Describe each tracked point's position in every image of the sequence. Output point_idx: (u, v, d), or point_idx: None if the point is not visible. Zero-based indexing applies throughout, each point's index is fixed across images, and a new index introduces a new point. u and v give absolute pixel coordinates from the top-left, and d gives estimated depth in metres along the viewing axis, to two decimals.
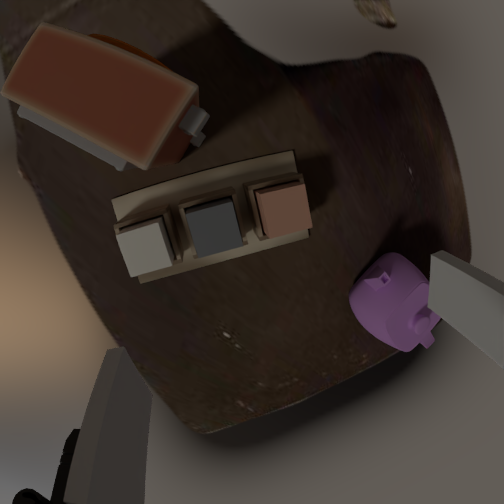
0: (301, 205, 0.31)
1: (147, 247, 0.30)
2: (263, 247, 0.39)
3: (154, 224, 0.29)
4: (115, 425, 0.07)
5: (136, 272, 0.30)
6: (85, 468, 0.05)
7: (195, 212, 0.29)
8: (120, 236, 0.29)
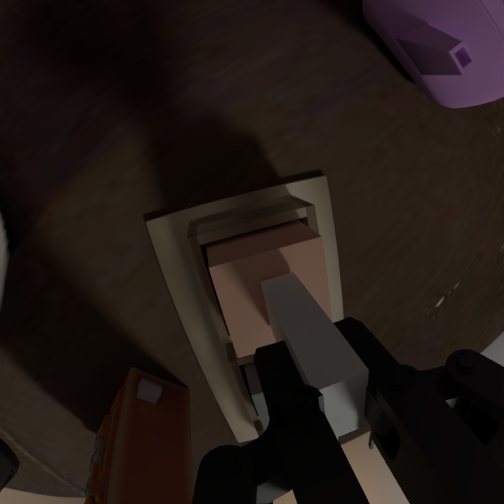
0: (265, 270, 0.12)
1: None
2: (334, 265, 0.21)
3: None
4: None
5: None
6: (317, 357, 0.07)
7: None
8: None
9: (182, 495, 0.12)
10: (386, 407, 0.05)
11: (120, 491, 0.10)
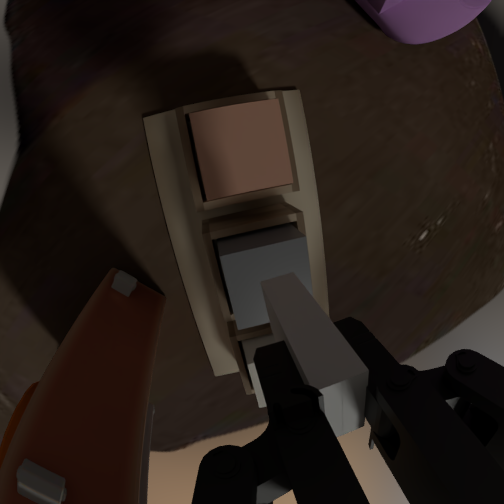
0: (232, 118, 0.15)
1: None
2: (309, 169, 0.22)
3: (250, 368, 0.19)
4: None
5: None
6: (317, 357, 0.07)
7: (236, 315, 0.17)
8: (261, 403, 0.20)
9: (135, 378, 0.13)
10: (386, 407, 0.05)
11: (67, 354, 0.11)
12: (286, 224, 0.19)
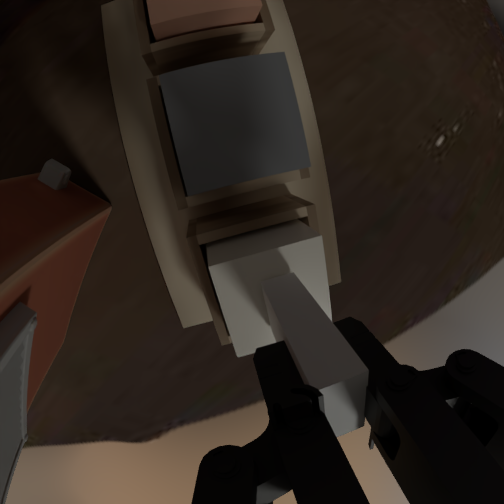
0: None
1: None
2: (291, 40, 0.15)
3: (213, 275, 0.12)
4: None
5: None
6: (317, 357, 0.07)
7: (183, 168, 0.10)
8: (240, 348, 0.13)
9: (4, 249, 0.06)
10: (386, 407, 0.05)
11: None
12: None
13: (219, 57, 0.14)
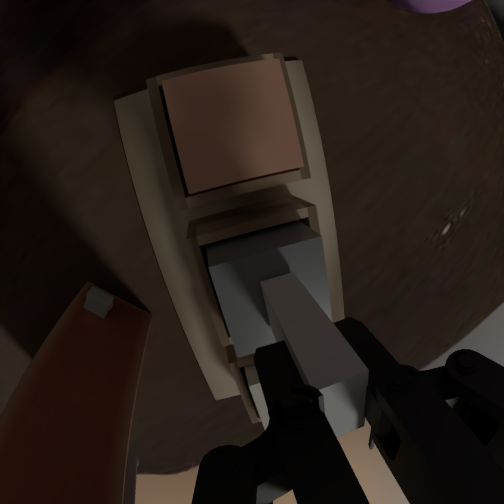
0: (220, 84, 0.10)
1: None
2: (319, 153, 0.18)
3: (252, 390, 0.16)
4: None
5: None
6: (317, 357, 0.07)
7: (234, 340, 0.13)
8: (267, 425, 0.17)
9: (109, 428, 0.09)
10: (386, 407, 0.05)
11: (22, 401, 0.07)
12: (293, 221, 0.15)
13: None
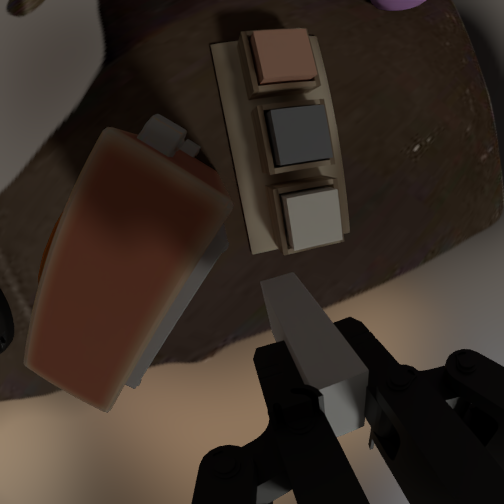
0: (279, 36, 0.20)
1: (313, 214, 0.26)
2: (325, 85, 0.27)
3: (288, 203, 0.25)
4: None
5: (338, 232, 0.27)
6: (317, 357, 0.07)
7: (279, 153, 0.24)
8: (296, 245, 0.27)
9: (211, 172, 0.19)
10: (386, 407, 0.05)
11: None
12: None
13: (286, 94, 0.27)
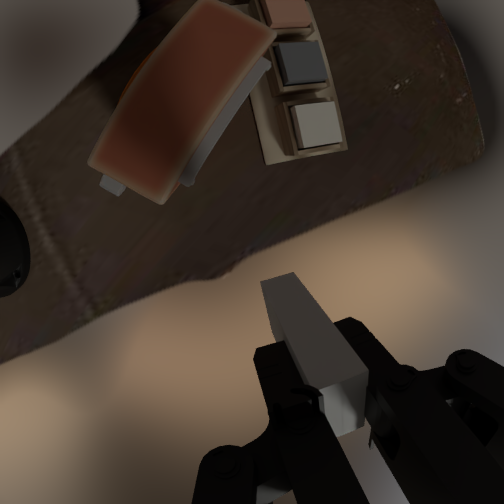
0: None
1: (316, 119, 0.30)
2: (318, 36, 0.31)
3: (296, 109, 0.29)
4: None
5: (338, 135, 0.31)
6: (317, 357, 0.07)
7: (287, 72, 0.28)
8: (305, 143, 0.31)
9: None
10: (386, 407, 0.05)
11: None
12: None
13: (288, 40, 0.30)
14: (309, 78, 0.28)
